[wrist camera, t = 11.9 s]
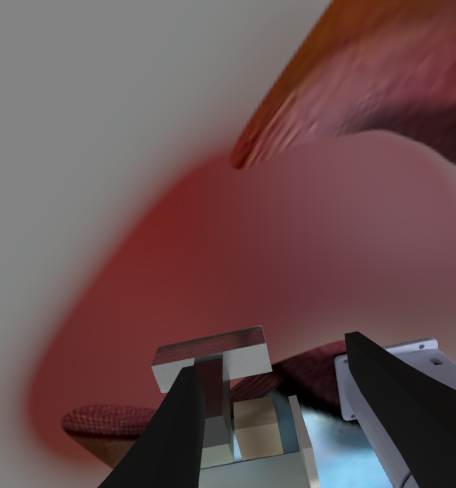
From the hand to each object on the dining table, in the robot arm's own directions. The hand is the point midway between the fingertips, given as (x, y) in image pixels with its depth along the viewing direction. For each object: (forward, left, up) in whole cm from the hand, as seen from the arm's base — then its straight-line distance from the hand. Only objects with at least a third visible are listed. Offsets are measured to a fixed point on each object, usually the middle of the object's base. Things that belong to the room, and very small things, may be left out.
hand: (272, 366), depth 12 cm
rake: (+5, +7, -11) cm, 14 cm away
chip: (+3, +16, -11) cm, 19 cm away
